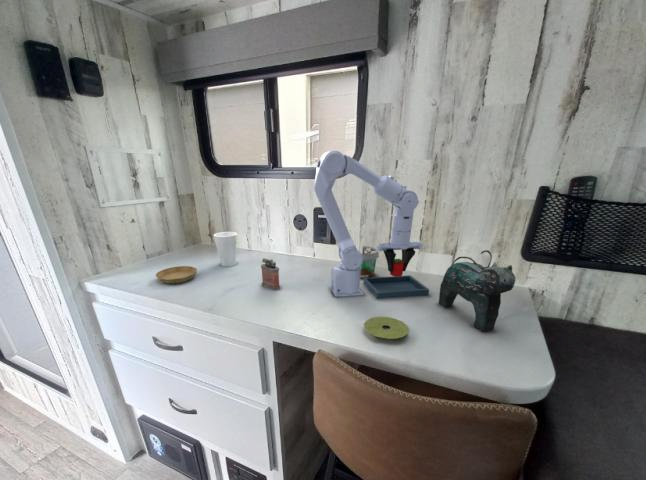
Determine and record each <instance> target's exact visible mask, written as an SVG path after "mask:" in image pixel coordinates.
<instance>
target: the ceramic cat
mask: <svg viewBox="0 0 646 480" xmlns="http://www.w3.org/2000/svg"><path fill="white" fill-rule="evenodd" d="M484 253H488V255H489V256H490V259H489V263H488V264H487V266H483V265H481V264H480V263H477V262H476V260H475V259H473V258H471V257H469V256H458V257H456V258H455V259H454V261H452V263H451V265H450V266H449V267H448V268H447V269H446V271H445V273H444V275H443V278H442V281H441V283H440V287H439V294H438V295H439V297H438V305H439V306H441V307H442V308H444V309H449V308H452V307H453V305H454V303H455V301H456V298H457V296H460V297H461V298H462V299H464V300H465V301H467V302H470V303H471V304H472V306H473V310H474V313H475V318H474V323H473V327H474V328H475V329H478V330H479V331H480V332H482V333H484V332H490V331H494V329H495V325H496V322H497V319H498V317H499V314H500V313H499V312H500V308H501V304H502V299H501V296H502V295H501V294H503V293H507V292H511V291H512V290H513V288H514V287H515V284H516V276H515V274H514V272H513V265H512V264H510V265H508V266H506V267H503V266H498V264H497V262H494V263H493V264H492V265H491V263H492V258H493V255H492V253H491V251H490V250H488V249H486V250H485V249H484V250H483V251H481V252H480V255H482V254H484ZM460 259H468V260H470V261H471V262H470V261H461V262H460V261H459V260H460ZM457 261H459V262H457ZM490 265H491V266H490Z"/></svg>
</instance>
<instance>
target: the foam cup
mask: <svg viewBox="0 0 646 480" xmlns="http://www.w3.org/2000/svg"><path fill="white" fill-rule="evenodd" d="M213 240H214V243H215V246H216V250H217V253H218V258H219V261H220V264H221V266H222V267H233V266H236V265H237V252H238V251H237V249H238V234H237V232H235V231H221V232H216V233H213Z"/></svg>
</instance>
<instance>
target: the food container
mask: <svg viewBox="0 0 646 480" xmlns="http://www.w3.org/2000/svg"><path fill="white" fill-rule="evenodd" d="M361 254H362V255H363V263H362V265H361V274H360V280H364V278H374V276H375V271H376V270H375V269H376V265H377V259H378V258H379V254H380V253H379V251H378V250H377V248H376V247H372V246H366V245H363V246H362V252H361Z"/></svg>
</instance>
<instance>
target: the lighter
mask: <svg viewBox="0 0 646 480" xmlns="http://www.w3.org/2000/svg"><path fill="white" fill-rule="evenodd" d="M261 263H262V264H261V265H260V268H261V278H262V281H261V285H262V286H263V287H265V288H267V289H270V290H273V291H279V290H280V289H281V285H280V273H279V272H280V267H278V266H276V265H277V262H276V261H274V260H273V259H272V258H271V259H268V258H265V257H263V258H262V262H261Z"/></svg>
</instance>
